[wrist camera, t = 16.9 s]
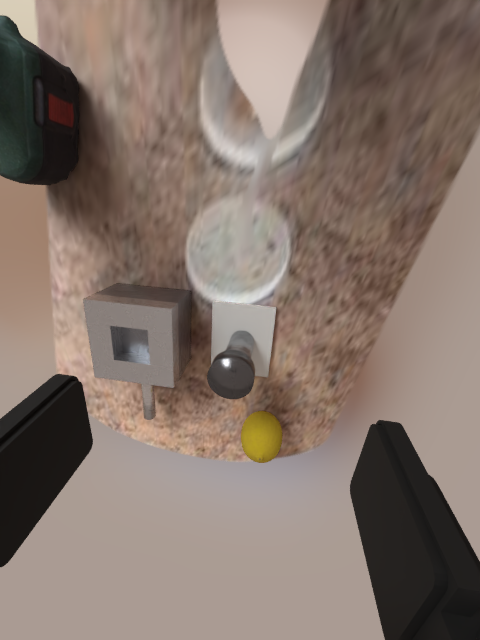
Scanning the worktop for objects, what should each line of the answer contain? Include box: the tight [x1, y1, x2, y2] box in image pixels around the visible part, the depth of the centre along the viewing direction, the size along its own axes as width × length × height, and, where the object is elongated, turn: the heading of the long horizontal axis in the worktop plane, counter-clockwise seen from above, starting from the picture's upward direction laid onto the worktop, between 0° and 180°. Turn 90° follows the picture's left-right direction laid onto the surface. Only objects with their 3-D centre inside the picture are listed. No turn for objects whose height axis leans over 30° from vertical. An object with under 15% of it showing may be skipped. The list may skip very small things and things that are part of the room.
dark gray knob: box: [207, 330, 255, 399], centre depth 33 cm, size 5×5×9 cm
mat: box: [211, 301, 276, 377], centre depth 38 cm, size 10×8×1 cm
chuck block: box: [83, 283, 191, 420], centre depth 37 cm, size 18×10×7 cm, turn 176°
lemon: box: [241, 411, 282, 463], centre depth 39 cm, size 6×6×8 cm
